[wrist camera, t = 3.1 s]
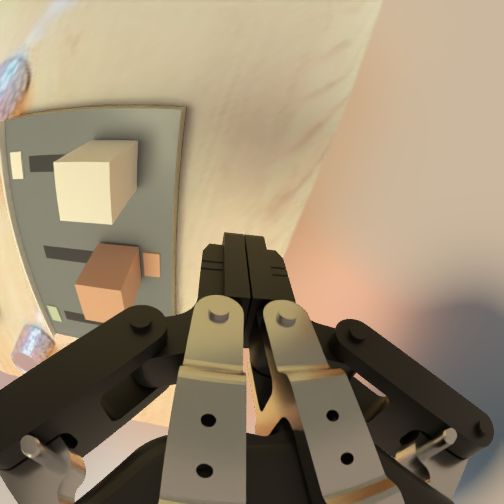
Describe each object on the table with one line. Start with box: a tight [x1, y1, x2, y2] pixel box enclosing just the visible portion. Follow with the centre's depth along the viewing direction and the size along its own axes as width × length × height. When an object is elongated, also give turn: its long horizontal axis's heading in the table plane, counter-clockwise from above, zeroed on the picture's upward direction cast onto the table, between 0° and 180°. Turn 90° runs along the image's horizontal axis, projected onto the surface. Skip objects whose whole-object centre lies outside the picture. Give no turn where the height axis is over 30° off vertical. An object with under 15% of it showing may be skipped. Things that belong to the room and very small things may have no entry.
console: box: [0, 105, 187, 338], centre depth 22 cm, size 25×16×3 cm, turn 170°
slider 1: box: [53, 140, 138, 225], centre depth 15 cm, size 4×4×5 cm
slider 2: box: [75, 243, 142, 323], centre depth 19 cm, size 4×4×5 cm
